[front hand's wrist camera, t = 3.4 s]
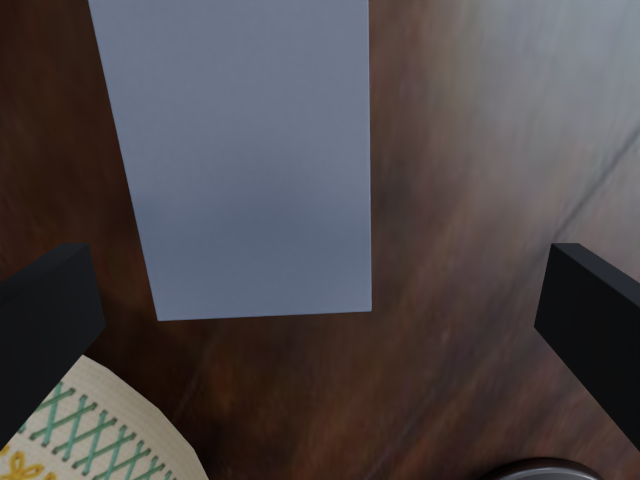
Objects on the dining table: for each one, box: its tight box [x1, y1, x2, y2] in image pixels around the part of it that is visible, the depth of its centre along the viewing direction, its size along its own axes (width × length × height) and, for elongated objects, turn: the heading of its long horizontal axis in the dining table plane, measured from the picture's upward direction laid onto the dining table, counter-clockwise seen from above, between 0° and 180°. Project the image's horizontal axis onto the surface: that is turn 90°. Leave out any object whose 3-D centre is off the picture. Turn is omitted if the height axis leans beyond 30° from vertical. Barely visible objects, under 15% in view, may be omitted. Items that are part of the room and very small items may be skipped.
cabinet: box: [88, 0, 371, 321], centre depth 23 cm, size 18×11×11 cm, turn 3°
